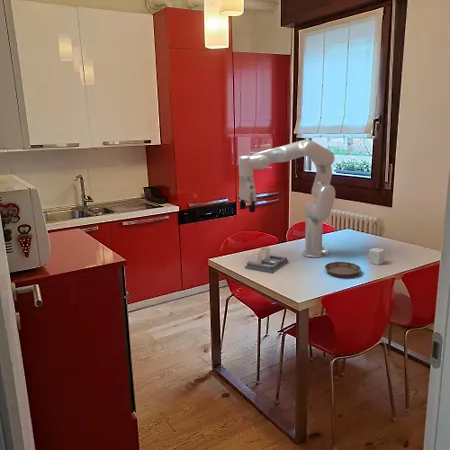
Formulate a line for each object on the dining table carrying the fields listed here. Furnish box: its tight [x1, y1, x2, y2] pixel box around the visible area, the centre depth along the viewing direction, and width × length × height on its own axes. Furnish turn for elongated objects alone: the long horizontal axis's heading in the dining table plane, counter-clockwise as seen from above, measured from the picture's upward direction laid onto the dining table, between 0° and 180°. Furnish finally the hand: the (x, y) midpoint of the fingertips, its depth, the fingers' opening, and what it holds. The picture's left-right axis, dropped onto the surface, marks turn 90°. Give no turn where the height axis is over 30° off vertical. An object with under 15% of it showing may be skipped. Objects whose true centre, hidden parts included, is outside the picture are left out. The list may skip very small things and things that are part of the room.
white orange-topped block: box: [259, 246, 271, 259], centre depth 240 cm, size 4×5×6 cm
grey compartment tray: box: [244, 254, 289, 274], centre depth 234 cm, size 16×20×3 cm
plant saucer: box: [324, 261, 362, 278], centre depth 220 cm, size 18×18×3 cm
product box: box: [368, 247, 386, 266], centre depth 232 cm, size 6×6×7 cm
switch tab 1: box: [250, 251, 262, 265], centre depth 232 cm, size 4×5×6 cm
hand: (247, 210), depth 234 cm, fingers open, 9 cm apart
